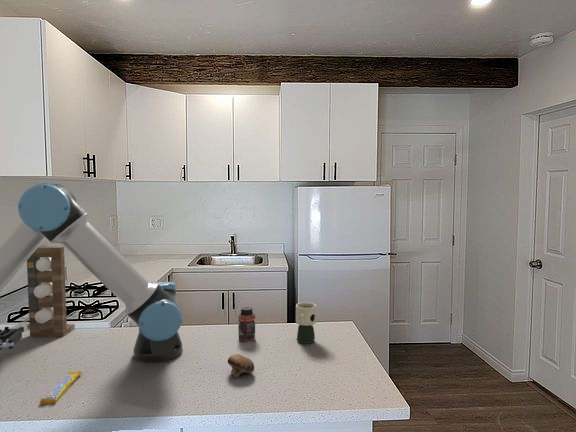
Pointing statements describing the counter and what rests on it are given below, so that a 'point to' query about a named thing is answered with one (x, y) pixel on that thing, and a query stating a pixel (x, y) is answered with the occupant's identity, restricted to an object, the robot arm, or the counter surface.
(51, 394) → the candy bar
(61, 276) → the switch panel
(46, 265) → the top button
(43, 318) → the bottom button
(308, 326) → the character mug
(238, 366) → the mushroom
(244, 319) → the supplement bottle
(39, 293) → the middle button
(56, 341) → the counter surface
